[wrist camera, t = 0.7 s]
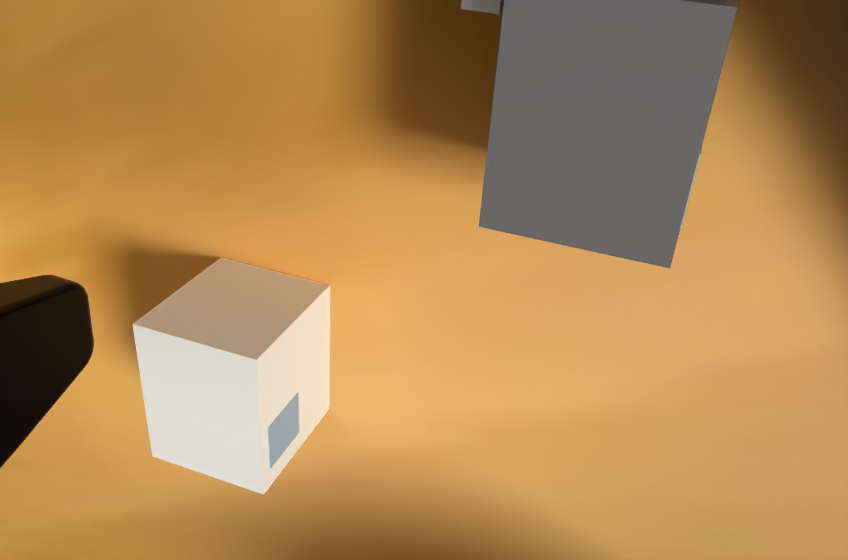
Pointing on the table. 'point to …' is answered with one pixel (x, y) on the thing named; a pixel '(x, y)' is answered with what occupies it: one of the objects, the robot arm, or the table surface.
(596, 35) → the block
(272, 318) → the block
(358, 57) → the table surface
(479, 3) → the rail
